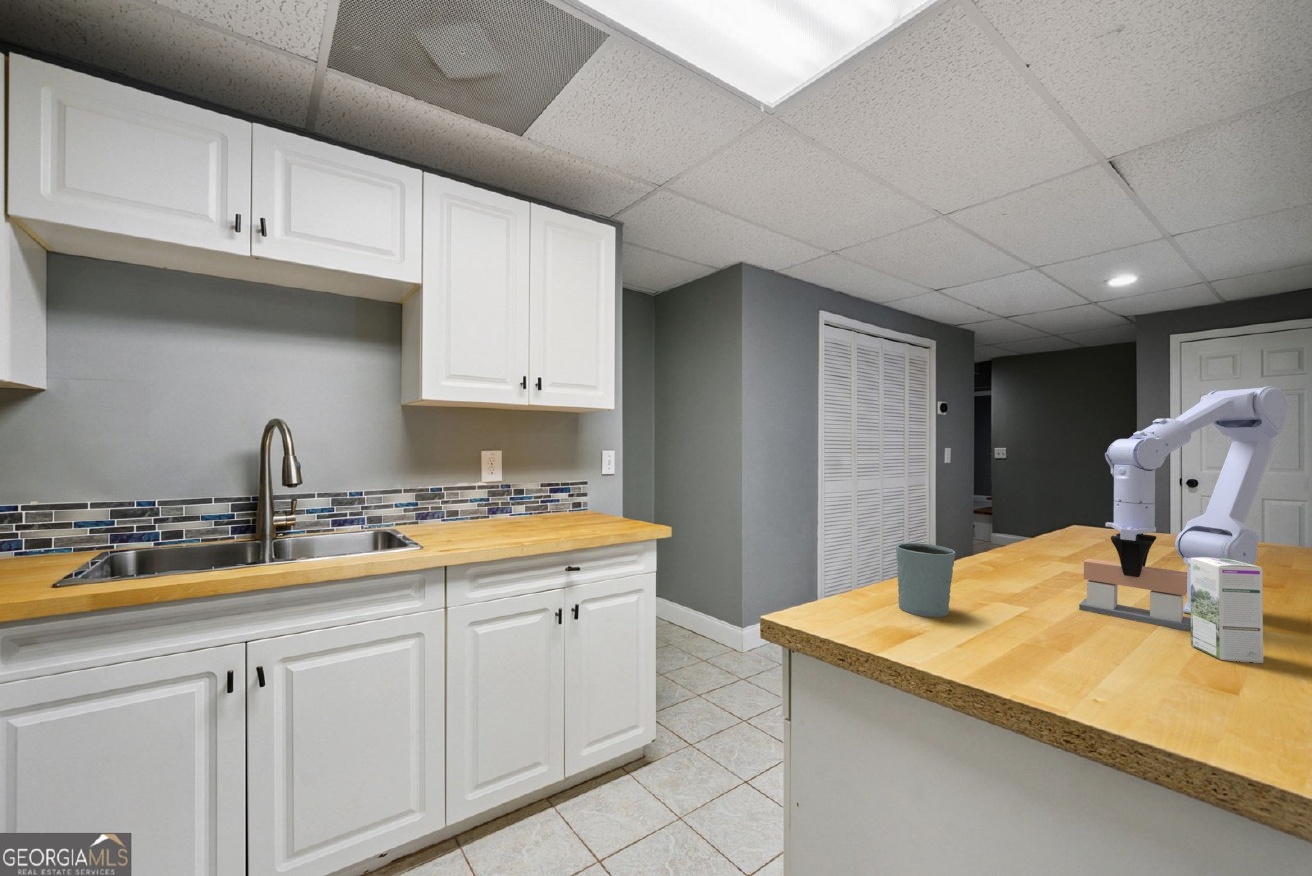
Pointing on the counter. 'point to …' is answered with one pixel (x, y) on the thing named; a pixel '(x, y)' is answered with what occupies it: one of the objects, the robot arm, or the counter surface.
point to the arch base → (1162, 608)
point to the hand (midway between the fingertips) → (1133, 574)
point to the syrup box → (1227, 609)
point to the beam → (1147, 580)
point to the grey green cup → (924, 578)
